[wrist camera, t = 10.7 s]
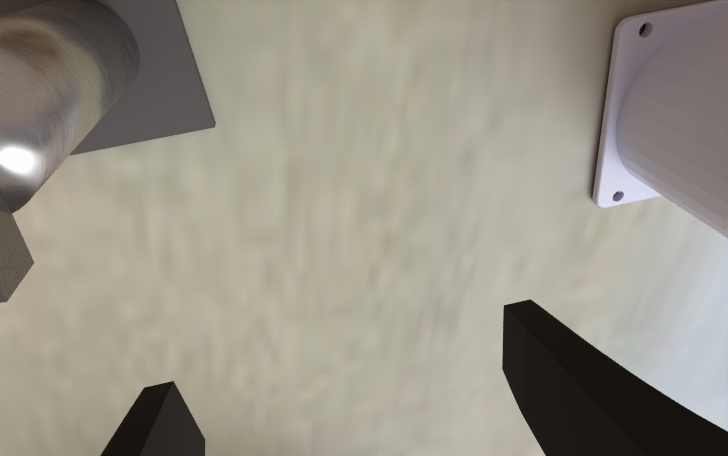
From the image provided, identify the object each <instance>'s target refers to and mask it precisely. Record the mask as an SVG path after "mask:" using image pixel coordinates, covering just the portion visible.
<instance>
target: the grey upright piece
mask: <svg viewBox="0 0 728 456" xmlns="http://www.w3.org/2000/svg"><path fill="white" fill-rule="evenodd" d="M139 65H140V55H139V49H138V46H137V42H136V40H135V38H134V35H133V34H132V32H131V30H130V29H129V27H128V26H127V25H126V23H125V22H124V21H123V20H122V19H121V18H120V17H119V16H118V15H117V14H116V13H114V12H113V11H112V10H110V9H109V8H107V7H106V6H104V5H102V4H100V3H98V2H95V1H93V0H54V1H51V2H48V3H44V4H41V5H38V6H35V7H31V8H28V9H25V10H22V11H19V12H15V13H12V14H9V15H6V16H2V17H0V303H1V302H7V301H8V300H9V298H10V297H11V295H12V294H13V292H14V291H15V290H16V288H17V287H18V285H19V284H20V282H21V281H22V280H23V278H24V277H25V275H26V274H27V272H28V271H29V270H30V268H31V267H32V265H33V264H34V261H33V259H32V257H31V254H30V252H29V250H28V248H27V246H26V244H25V241H24V239H23V237H22V235H21V233H20V230H19V228H18V226H17V224H16V222H15V220H14V217H13V215H12V213H14V212H15V211H17V210H19V209H20V208H21V207H23V206H24V205H25V204H26V203H27V202H28V201H29V200H30V199H31V198H32V197H33V195H34V194H35V193H36V192H37V191H38V190H39V189H40V187H41V186H42V185H43V184H44V183H45V182H46V181H47V180H48V178H49V177H50V176H51V175H52V174H53V173H54V172H55V170H56V169H57V168H58V167H59V166H60V165H61V164H62V163H63V161H64V160H65V159H66V158H67V157H68V156H69V155H70V153H71V152H72V151H73V150H74V149H75V148H76V147H77V146H78V144H79V143H80V142H81V141H82V140H83V139H84V138H85V136H86V135H87V134H88V133H89V132H90V131H91V130H92V129H93V127H94V126H95V125H96V124H97V123H98V122H99V121H100V120H101V118H102V117H103V116H104V115H105V114H106V113H107V112H108V110H109V109H110V108H111V107H112V106H113V105H114V104H115V103H116V101H117V100H118V99H119V98H120V97H121V96H122V95H123V93H124V92H125V91H126V90H127V89H128V88H129V87H130V86H131V84H132V83H133V82H134V80H135V78H136V76H137V74H138V70H139Z"/></svg>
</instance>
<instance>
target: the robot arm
mask: <svg viewBox="0 0 728 456" xmlns="http://www.w3.org/2000/svg"><path fill="white" fill-rule="evenodd" d="M643 24H645V26H646V27H645V30H644V32H643V33H642V34H641V35H639V30H640V28H641V26H642V25H643ZM616 192H618V193H617V195H616V196H614V197H613V195H614V194H615V193H616ZM657 196H664V197H665V198H667V199H668V200H670V201H671V202H673V203H674V204H676V205H677V206H679V207H681V208H682V209H684V210H685V211H687V212H688V213H690V214H691V215H693V216H694V217H696V218H697V219H699V220H701V221H702V222H704V223H705V224H707V225H708V226H710V227H711V228H713V229H714V230H716V231H717V232H719V233H720V234H722V235H724V236H725V237H727V238H728V0H714V1H709V2H704V3H698V4H693V5H688V6H683V7H677V8H672V9H667V10H661V11H656V12H651V13H646V14H640V15H635V16H630V17H627V18H625V19H623V20H622V21H621V22H620V23H619V24H618V26H617V27H616V30H615V33H614V40H613V48H612V55H611V63H610V70H609V78H608V85H607V93H606V100H605V108H604V115H603V122H602V130H601V137H600V145H599V152H598V160H597V167H596V175H595V182H594V190H593V197H592V198H593V202H594V203H595V204H596V205H597V206H598V207H601V208H607V207H611V206H616V205H621V204H625V203H630V202H634V201H639V200H644V199H648V198H653V197H657ZM502 369H503V372H504V374H505V376H506V379H507V381H508V383H509V386H510V388H511V391H512V393H513V395H514V397H515V400H516V402H517V404H518V406H519V409H520V411H521V413H522V415H523V416H524V418H525V420H526V422H527V424H528V425H529V427H530V429H531V431H532V432H533V434H534V436H535V438H536V439H537V441H538V443H539V445H540V446H541V448H542V450H543V452H544V453H545V455H546V456H728V432H727V431H726V430H724V429H722V428H720V427H718V426H717V425H715V424H713V423H711V422H709V421H708V420H706V419H704V418H702V417H701V416H699V415H697V414H695V413H694V412H692V411H690V410H689V409H687V408H685V407H684V406H682V405H680V404H679V403H677V402H675V401H674V400H672V399H671V398H669V397H668V396H666V395H664V394H663V393H661V392H660V391H658V390H657V389H655V388H653V387H652V386H650V385H649V384H647V383H646V382H644V381H643V380H641V379H640V378H638V377H637V376H635V375H634V374H632V373H631V372H629V371H628V370H626V369H625V368H623V367H622V366H621V365H619V364H618V363H616V362H615V361H613V360H612V359H611V358H609V357H608V356H606V355H605V354H603V353H602V352H601V351H599V350H598V349H596V348H595V347H594V346H592V345H591V344H589V343H588V342H587V341H585V340H584V339H583V338H581V337H580V336H579V335H577V334H576V333H575V332H573V331H572V330H571V329H569V328H568V327H567V326H565V325H564V324H563V323H561V322H560V321H559V320H557V319H556V318H555V317H553V316H552V315H551V314H549V313H548V312H547V311H545V310H544V309H543V308H542V307H540V306H539V305H538V304H536V303H535V302H533V301H532V300H531V299H530V300H526V301H521V302H517V303H513V304H508V305H504V319H503V366H502ZM100 456H205V439H204V437H203V435H202V433H201V431H200V429H199V427H198V426H197V424H196V422H195V420H194V418H193V416H192V414H191V413H190V411H189V409H188V407H187V405H186V403H185V401H184V400H183V398H182V396H181V394H180V392H179V390H178V389H177V387H176V385H175V383H174V381H172V382H168V383H163V384H159V385H154V386H150V387H146V388H144V389H143V390H142V392H141V393H140V395H139V396H138V398H137V399H136V401H135V402H134V404H133V405H132V407H131V409H130V410H129V412H128V413H127V415H126V416H125V418H124V420H123V421H122V423H121V424H120V426H119V427H118V429H117V431H116V432H115V434H114V435H113V437H112V438H111V440H110V441H109V443H108V445H107V446H106V448H105V449H104V451H103V452H102V454H101V455H100Z"/></svg>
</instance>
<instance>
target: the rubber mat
mask: <svg viewBox="0 0 728 456" xmlns="http://www.w3.org/2000/svg"><path fill="white" fill-rule="evenodd" d="M51 1H54V0H0V17H2V16H6V15H9V14H12V13H15V12H19V11H22V10H25V9H28V8H31V7H35V6H38V5H41V4H44V3H48V2H51ZM93 1H95V2H98V3H100V4H102V5H104V6H106V7H107V8H109V9H110V10H112V11H113V12H114V13H116V14H117V15H118V16H119V17H120V18H121V19H122V20H123V21H124V22H125V23H126V25H127V26H128V27H129V29H130V30H131V32H132V34H133V35H134V38H135V40H136V42H137V46H138V49H139V55H140V65H139V70H138V74H137V76H136V78H135V80H134V82H133V83H132V84H131V86H130V87H129V88H128V89H127V90H126V91H125V92H124V93H123V95H122V96H121V97H120V98H119V99H118V100H117V101H116V103H115V104H114V105H113V106H112V107H111V108H110V109H109V110H108V112H107V113H106V114H105V115H104V116H103V117H102V118H101V120H100V121H99V122H98V123H97V124H96V125H95V126H94V127H93V129H92V130H91V131H90V132H89V133H88V134H87V135H86V136H85V138H84V139H83V140H82V141H81V142H80V143H79V144H78V146H77V147H76V148H75V149H74V150H73V151H72V152H71V153H70V155H75V154H80V153H85V152H90V151H95V150H100V149H105V148H111V147H116V146H121V145H126V144H131V143H136V142H141V141H147V140H152V139H157V138H162V137H167V136H172V135H177V134H183V133H188V132H193V131H198V130H203V129H208V128H213V127H215V124H216V123H215V120H214V116H213V113H212V110H211V107H210V104H209V101H208V98H207V95H206V92H205V89H204V86H203V83H202V80H201V76H200V73H199V70H198V67H197V64H196V61H195V58H194V55H193V52H192V49H191V46H190V43H189V39H188V36H187V33H186V30H185V27H184V24H183V21H182V18H181V15H180V12H179V9H178V6H177V2H176V0H93Z"/></svg>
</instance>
